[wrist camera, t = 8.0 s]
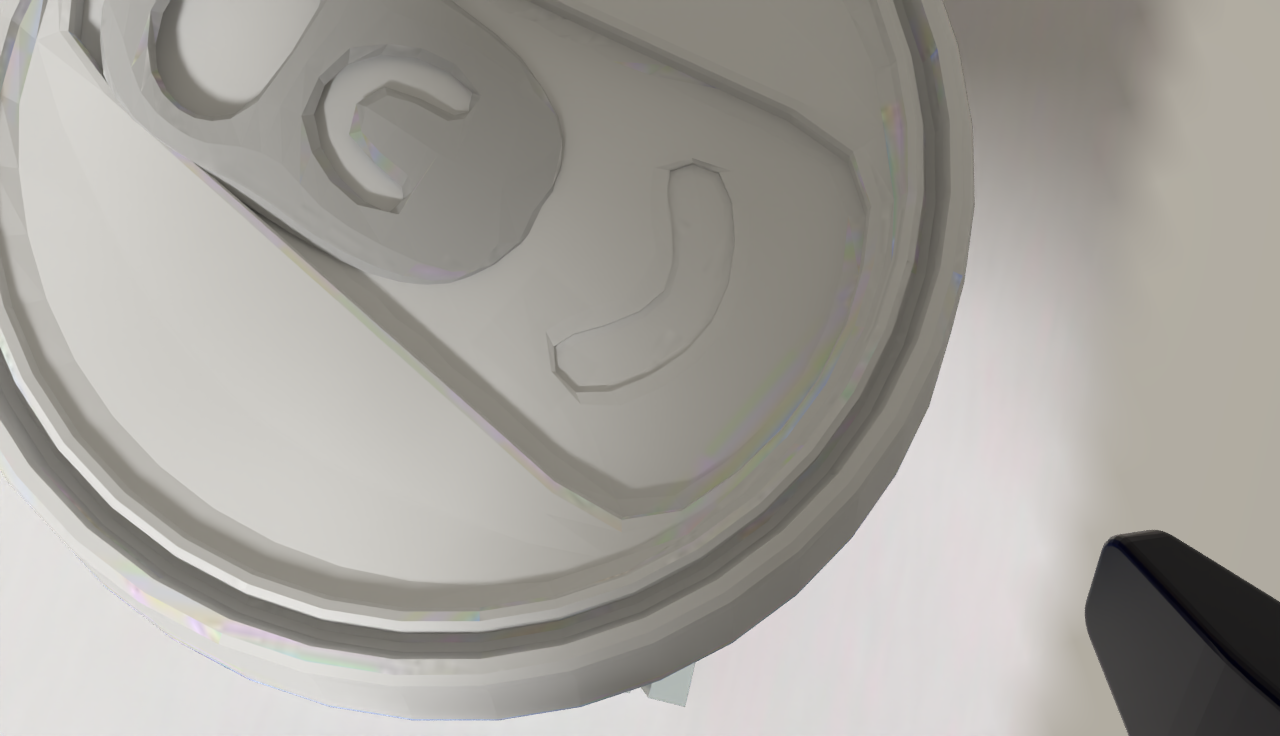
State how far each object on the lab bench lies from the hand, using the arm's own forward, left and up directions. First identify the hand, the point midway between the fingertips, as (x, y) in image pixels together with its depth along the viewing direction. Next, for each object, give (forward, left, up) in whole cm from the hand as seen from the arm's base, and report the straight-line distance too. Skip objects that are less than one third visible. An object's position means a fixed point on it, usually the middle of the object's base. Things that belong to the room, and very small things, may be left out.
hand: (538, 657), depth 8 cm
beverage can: (+2, -2, -11) cm, 11 cm away
